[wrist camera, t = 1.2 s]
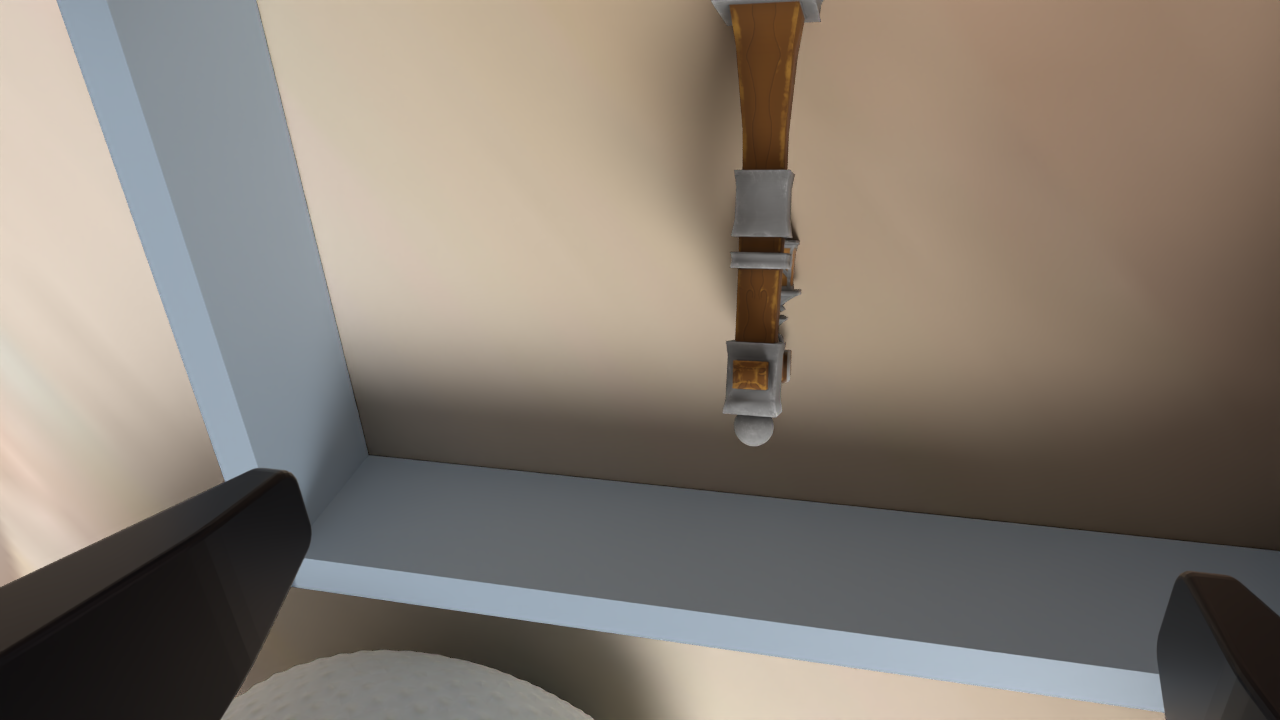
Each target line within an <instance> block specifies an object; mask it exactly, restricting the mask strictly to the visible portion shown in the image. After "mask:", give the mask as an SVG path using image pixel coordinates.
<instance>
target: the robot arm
mask: <svg viewBox="0 0 1280 720" xmlns="http://www.w3.org/2000/svg"><path fill="white" fill-rule="evenodd" d="M311 536H312V529H311V523H310V520H309V517H308V513H307V510H306V507H305V504H304V500H303V497H302V494H301V490H300V487H299V484H298V481H297V479H296V477H295V476H294V475H293V474H292V473H291V472H289V471H287V470H280V469H271V468H254V469H251V470H249V471H247V472H245V473H243V474H241V475H239V476H236V477H234V478H232V479H230V480H228V481H226V482H224V483H221V484H219V485H217V486H215V487H213V488H211V489H209V490H207V491H204V492H202V493H200V494H198V495H196V496H194V497H192V498H190V499H187V500H185V501H183V502H181V503H179V504H177V505H175V506H172V507H170V508H168V509H166V510H164V511H162V512H160V513H158V514H155V515H153V516H151V517H149V518H147V519H145V520H143V521H141V522H138V523H136V524H134V525H132V526H130V527H128V528H126V529H123V530H121V531H119V532H117V533H115V534H113V535H111V536H109V537H106V538H104V539H102V540H100V541H98V542H96V543H94V544H92V545H89V546H87V547H85V548H83V549H81V550H79V551H77V552H74V553H72V554H70V555H68V556H66V557H64V558H62V559H60V560H57V561H55V562H53V563H51V564H49V565H47V566H45V567H43V568H40V569H38V570H36V571H34V572H32V573H30V574H28V575H25V576H23V577H21V578H19V579H17V580H15V581H13V582H11V583H8V584H6V585H4V586H2V587H0V720H221V719H222V717H223V715H224V714H225V712H226V711H227V709H228V707H229V706H230V704H231V702H232V701H233V699H234V697H235V696H236V694H237V692H238V691H239V689H240V687H241V686H242V684H243V682H244V680H245V679H246V677H247V675H248V673H249V672H250V670H251V668H252V666H253V664H254V662H255V660H256V658H257V656H258V654H259V652H260V651H261V649H262V647H263V645H264V642H265V640H266V638H267V636H268V634H269V632H270V630H271V628H272V626H273V623H274V621H275V619H276V617H277V615H278V613H279V611H280V609H281V607H282V604H283V602H284V600H285V598H286V596H287V594H288V592H289V590H290V588H291V585H292V583H293V581H294V579H295V577H296V575H297V573H298V571H299V569H300V566H301V564H302V562H303V560H304V558H305V556H306V554H307V552H308V549H309V546H310V543H311ZM1157 665H1158V671H1159V678H1160V685H1161V692H1162V698H1163V705H1164V712H1165V719H1166V720H1280V616H1279V615H1278V614H1277V613H1276V612H1274V611H1273V610H1272V609H1271V608H1270V607H1269V606H1268V605H1266V604H1265V603H1264V602H1263V601H1262V600H1261V599H1259V598H1258V597H1257V596H1256V595H1255V594H1254V593H1253V592H1251V591H1250V590H1249V589H1248V588H1247V587H1246V586H1245V585H1243V584H1242V583H1241V582H1240V581H1238V580H1237V579H1235V578H1234V577H1232V576H1229V575H1224V574H1215V573H1206V572H1197V571H1185V572H1183V573H1181V574H1180V575H1179V576H1178V577H1177V579H1176V580H1175V583H1174V586H1173V589H1172V592H1171V595H1170V598H1169V602H1168V605H1167V608H1166V611H1165V614H1164V618H1163V621H1162V624H1161V627H1160V630H1159V634H1158V639H1157Z"/></svg>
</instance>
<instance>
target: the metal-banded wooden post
mask: <svg viewBox="0 0 1280 720" xmlns="http://www.w3.org/2000/svg"><path fill="white" fill-rule="evenodd" d="M711 2H712V4H713V5H714V7H715V8H716V10H717V11H718V13H719V14H720V16H721V17H722V19H723V21H724V22H725V24H726V25H727V26H733V31H734V37H735V43H736V52H737V65H738V77H739V89H740V102H741V114H742V127H743V170H734V171H735V179H736V206H735V221H734V225H733V230H732V234H731V236H732V237H739V252H730V253H731V258H732V262H731V266H730V268H738V288H737V311H736V334H735V340H731V341H726V344H727V352H728V365H727V384H726V400H725V404H724V408H723V413H724V414H737V416H736V418H735V422H734V430H735V433H736V435H737V437H738V438H739V440H740V441H741V442H743V443H744V444H746V445H748V446H759V445H762V444H764V443H765V442H767V441H768V440H769V439H770V438H771V436H772V434H773V429H774V424H773V420H772V417H777V416H778V415H779V414H780V413H781V412H782V406H781V383H787V382H788V381H790V375H791V350H785V345H786V343H784V341H783V337H782V336H781V335H780V334H779V333H778V330H779V325H780V324H781V323H783V322H784V321H786V320H787V319H788V317H786V316H784V315H780V312H781V311H783V310H785V308H784V307H783V306H782V305H783V304H784V303H785V302H787V301H788V300H790V299H791V298H793V297H795V296H798V295H800V294H801V289H794V284H793V278H794V267H795V256H796V251H797V247H798V245H800V241H798V240H785V239H787V238H793V237H792V230H791V222H790V220H791V191H792V186H793V181H794V176H795V174H794V173H793V172H792V171H791V170H787V166H788V141H789V128H790V119H791V110H792V101H793V93H794V84H795V75H796V66H797V58H798V52H799V47H800V41H801V36H802V31H803V26H804V22H821V20H820V9H821V4H822V2H823V0H711ZM778 339H779V342H778Z"/></svg>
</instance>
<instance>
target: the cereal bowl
mask: <svg viewBox="0 0 1280 720" xmlns="http://www.w3.org/2000/svg"><path fill="white" fill-rule="evenodd" d="M221 720H594V719H593V718H592V717H591V716H590V715H587V714H585V713H584V712H583V711H582V710H581V709H578V708H575V707H573V706H572V705H571V704H570V703H568V702H567V701H564V700H561V699H559V698H558V697H557V696H556V695H554V694H551V693H549V692H546V691H545V690H543V689H542V688H540V687H538V686H535V685H532V684H531V683H529V682H528V681H524V680H520V679H517V678H516V677H514V676H512V675H510V674H507V673H503V672H501V671H499V670H497V669H493V668H489V667H487V666H484V665H479V664H476V663H472V662H470V661H467V660H460V659H456V658H449V657H445V656H442V655H439V654H429V653H422V652H413V651H410V650H409V651H393V650H377V651H365V650H361V651H358V652H355V653H352V654H337V655H335V656H332V657H327V658H318V659H316V660H314V661H312V662H309V663H306V664H300V665H295V666H294V667H292V668H290V669H288V670H287V671H284V672H279V673H275V674H273V675H272V676H271V677H270V678H269V679H267V680H265V681H263V682H260V683H257V684H255V685H254V686H253V687H252V688H250V689H249V690H248V691H247V692H246V693H244V694H242V695H239V696H238V697H237V698H235V699H233V701H232V702H231V704H230V706H229V707H228V709H227V711H226V712H225V714H224V715H223V717H222V719H221Z"/></svg>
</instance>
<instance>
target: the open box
mask: <svg viewBox="0 0 1280 720" xmlns="http://www.w3.org/2000/svg"><path fill="white" fill-rule="evenodd" d="M57 3H58V6H59V9H60V12H61V15H62V17H63V20H64V23H65V26H66V29H67V32H68V35H69V37H70V40H71V43H72V46H73V49H74V52H75V55H76V57H77V60H78V63H79V66H80V69H81V72H82V75H83V77H84V80H85V83H86V86H87V89H88V92H89V95H90V97H91V100H92V103H93V106H94V109H95V112H96V115H97V117H98V120H99V123H100V126H101V129H102V132H103V135H104V137H105V140H106V143H107V146H108V149H109V152H110V155H111V157H112V160H113V163H114V166H115V169H116V172H117V175H118V177H119V180H120V183H121V186H122V189H123V192H124V194H125V197H126V200H127V203H128V206H129V209H130V212H131V214H132V217H133V220H134V223H135V226H136V229H137V232H138V234H139V237H140V240H141V243H142V246H143V249H144V252H145V254H146V257H147V260H148V263H149V266H150V269H151V272H152V274H153V277H154V280H155V283H156V286H157V289H158V292H159V294H160V297H161V300H162V303H163V306H164V309H165V312H166V314H167V317H168V320H169V323H170V326H171V329H172V332H173V334H174V337H175V340H176V343H177V346H178V349H179V352H180V354H181V357H182V360H183V363H184V366H185V369H186V372H187V374H188V377H189V380H190V383H191V386H192V389H193V392H194V394H195V397H196V400H197V403H198V406H199V409H200V412H201V414H202V417H203V420H204V423H205V426H206V429H207V432H208V434H209V437H210V440H211V443H212V446H213V449H214V452H215V454H216V457H217V460H218V463H219V466H220V469H221V472H222V474H223V477H224V480H225V482H226V481H228V480H230V479H232V478H234V477H236V476H239V475H241V474H243V473H245V472H247V471H249V470H251V469H254V468H271V469H280V470H287V471H289V472H291V473H292V474H293V475H294V476H295V477H296V479H297V481H298V484H299V487H300V490H301V494H302V497H303V500H304V504H305V507H306V510H307V513H308V517H309V520H310V523H311V529H312V536H311V543H310V546H309V549H308V552H307V554H306V556H305V558H304V560H303V562H302V564H301V566H300V569H299V571H298V573H297V575H296V577H295V579H294V581H293V583H292V585H291V587H296V588H303V589H310V590H317V591H324V592H331V593H338V594H345V595H352V596H359V597H366V598H373V599H380V600H387V601H393V602H400V603H407V604H414V605H421V606H428V607H435V608H442V609H449V610H456V611H463V612H470V613H477V614H484V615H491V616H498V617H504V618H511V619H518V620H525V621H532V622H539V623H546V624H553V625H560V626H567V627H574V628H581V629H588V630H595V631H602V632H609V633H615V634H622V635H629V636H636V637H643V638H650V639H657V640H664V641H671V642H678V643H685V644H692V645H699V646H706V647H713V648H720V649H726V650H733V651H740V652H747V653H754V654H761V655H768V656H775V657H782V658H789V659H796V660H803V661H810V662H817V663H824V664H830V665H837V666H844V667H851V668H858V669H865V670H872V671H879V672H886V673H893V674H900V675H907V676H914V677H921V678H928V679H935V680H941V681H948V682H955V683H962V684H969V685H976V686H983V687H990V688H997V689H1004V690H1011V691H1018V692H1025V693H1032V694H1039V695H1046V696H1052V697H1059V698H1066V699H1073V700H1080V701H1087V702H1094V703H1101V704H1108V705H1115V706H1122V707H1129V708H1136V709H1143V710H1150V711H1157V712H1163V713H1165V712H1164V705H1163V698H1162V692H1161V685H1160V678H1159V671H1158V665H1157V639H1158V634H1159V630H1160V627H1161V624H1162V621H1163V618H1164V614H1165V611H1166V608H1167V605H1168V602H1169V598H1170V595H1171V592H1172V589H1173V586H1174V583H1175V580H1176V579H1177V577H1178V576H1179V575H1180V574H1181V573H1183V572H1185V571H1197V572H1206V573H1215V574H1224V575H1229V576H1232V577H1234V578H1235V579H1237V580H1238V581H1240V582H1241V583H1242V584H1243V585H1245V586H1246V587H1247V588H1248V589H1249V590H1250V591H1251V592H1253V593H1254V594H1255V595H1256V596H1257V597H1258V598H1259V599H1261V600H1262V601H1263V602H1264V603H1265V604H1266V605H1268V606H1269V607H1270V608H1271V609H1272V610H1273V611H1274V612H1276V613H1277V614H1278V615H1279V616H1280V551H1274V550H1264V549H1255V548H1245V547H1236V546H1226V545H1217V544H1207V543H1198V542H1188V541H1179V540H1169V539H1160V538H1150V537H1141V536H1131V535H1122V534H1112V533H1103V532H1093V531H1084V530H1074V529H1065V528H1055V527H1046V526H1036V525H1027V524H1017V523H1008V522H998V521H989V520H980V519H970V518H961V517H951V516H942V515H932V514H923V513H913V512H904V511H894V510H885V509H875V508H866V507H856V506H847V505H837V504H828V503H818V502H809V501H799V500H790V499H780V498H771V497H761V496H752V495H742V494H733V493H723V492H714V491H705V490H695V489H686V488H676V487H667V486H657V485H648V484H638V483H629V482H619V481H610V480H600V479H591V478H581V477H572V476H562V475H553V474H543V473H534V472H524V471H515V470H505V469H496V468H486V467H477V466H467V465H458V464H448V463H439V462H429V461H420V460H411V459H401V458H392V457H382V456H373V455H369V454H368V450H367V446H366V442H365V438H364V434H363V430H362V426H361V422H360V418H359V414H358V410H357V406H356V402H355V398H354V394H353V390H352V386H351V382H350V377H349V373H348V369H347V365H346V361H345V357H344V353H343V349H342V345H341V341H340V337H339V333H338V329H337V325H336V321H335V317H334V313H333V309H332V305H331V301H330V297H329V293H328V289H327V285H326V281H325V277H324V273H323V269H322V264H321V260H320V256H319V252H318V248H317V244H316V240H315V236H314V232H313V228H312V224H311V220H310V216H309V212H308V208H307V204H306V200H305V196H304V192H303V188H302V184H301V180H300V176H299V172H298V168H297V164H296V160H295V155H294V151H293V147H292V143H291V139H290V135H289V131H288V127H287V123H286V119H285V115H284V111H283V107H282V103H281V99H280V95H279V91H278V87H277V83H276V79H275V75H274V71H273V67H272V63H271V59H270V55H269V51H268V47H267V42H266V38H265V34H264V30H263V26H262V22H261V18H260V14H259V10H258V6H257V2H256V0H57Z"/></svg>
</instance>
